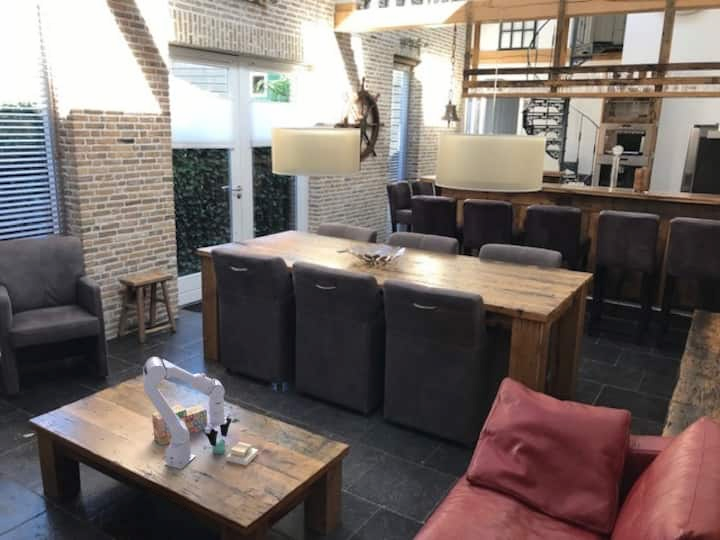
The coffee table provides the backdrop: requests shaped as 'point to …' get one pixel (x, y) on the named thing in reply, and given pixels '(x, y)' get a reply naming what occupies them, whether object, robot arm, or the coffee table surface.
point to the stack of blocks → (191, 416)
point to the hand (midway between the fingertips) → (218, 440)
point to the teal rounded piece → (219, 447)
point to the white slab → (242, 460)
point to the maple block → (241, 449)
